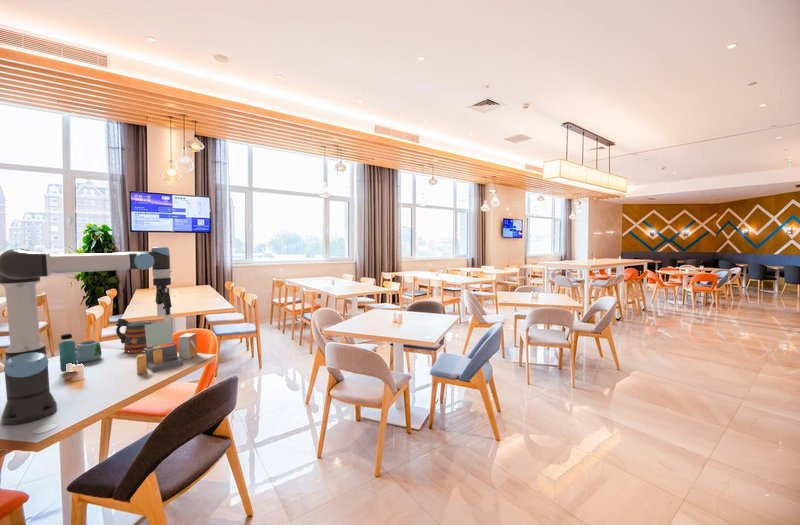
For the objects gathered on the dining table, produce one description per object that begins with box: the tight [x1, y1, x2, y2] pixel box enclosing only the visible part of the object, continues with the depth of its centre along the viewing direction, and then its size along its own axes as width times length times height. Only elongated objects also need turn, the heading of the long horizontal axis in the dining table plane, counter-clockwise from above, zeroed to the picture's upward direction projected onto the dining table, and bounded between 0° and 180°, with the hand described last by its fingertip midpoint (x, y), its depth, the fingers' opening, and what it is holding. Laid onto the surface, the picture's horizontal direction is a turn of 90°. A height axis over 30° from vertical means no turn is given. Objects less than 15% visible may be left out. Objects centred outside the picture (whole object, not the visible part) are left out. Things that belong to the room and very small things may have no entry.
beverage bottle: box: [58, 333, 78, 373], centre depth 183 cm, size 6×7×20 cm
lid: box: [145, 320, 175, 348], centre depth 200 cm, size 12×12×1 cm
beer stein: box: [115, 318, 154, 354], centre depth 220 cm, size 19×15×20 cm
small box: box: [177, 332, 198, 360], centre depth 208 cm, size 8×6×13 cm
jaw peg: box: [136, 353, 148, 375], centre depth 184 cm, size 4×4×9 cm
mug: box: [76, 340, 103, 363], centre depth 201 cm, size 15×11×10 cm
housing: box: [143, 342, 184, 372], centre depth 195 cm, size 15×14×10 cm
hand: (164, 318), depth 183 cm, fingers open, 13 cm apart
